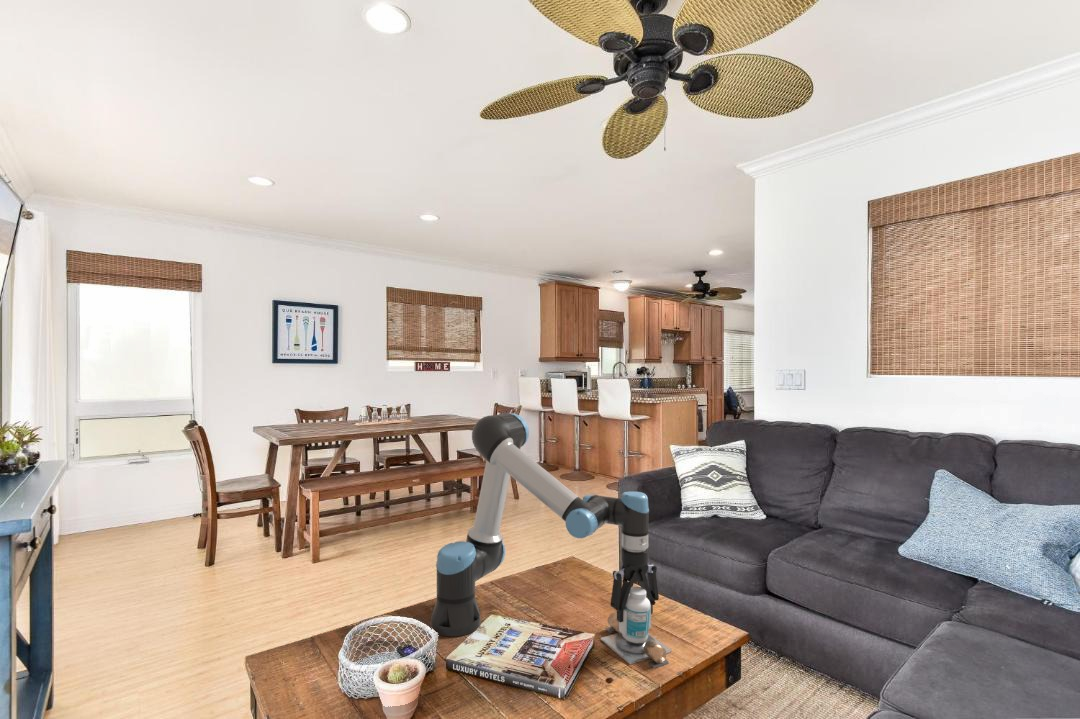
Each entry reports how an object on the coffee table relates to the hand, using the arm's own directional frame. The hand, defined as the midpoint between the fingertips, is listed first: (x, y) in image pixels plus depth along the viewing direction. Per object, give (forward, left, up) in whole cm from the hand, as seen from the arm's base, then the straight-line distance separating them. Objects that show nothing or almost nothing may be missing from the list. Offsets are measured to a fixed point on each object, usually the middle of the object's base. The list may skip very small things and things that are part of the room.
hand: (635, 629), depth 147 cm
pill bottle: (0, 0, -2) cm, 2 cm away
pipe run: (0, 0, -5) cm, 5 cm away
